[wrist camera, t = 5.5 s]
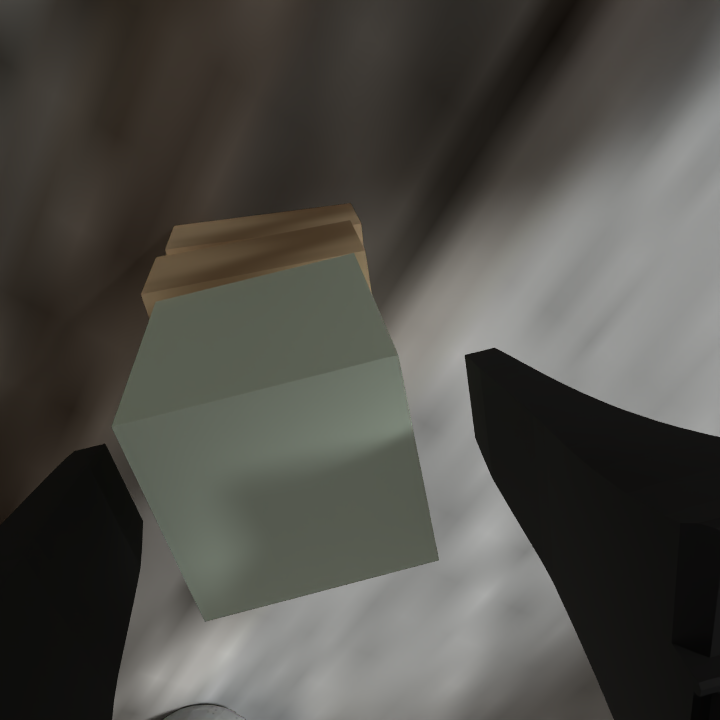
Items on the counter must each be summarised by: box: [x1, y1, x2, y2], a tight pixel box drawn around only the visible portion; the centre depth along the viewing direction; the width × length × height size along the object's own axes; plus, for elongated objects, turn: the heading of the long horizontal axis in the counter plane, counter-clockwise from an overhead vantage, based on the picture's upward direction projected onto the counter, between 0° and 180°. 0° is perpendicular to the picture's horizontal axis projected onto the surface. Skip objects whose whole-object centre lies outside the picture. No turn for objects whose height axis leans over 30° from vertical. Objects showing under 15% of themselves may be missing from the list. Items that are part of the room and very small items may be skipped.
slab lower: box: [165, 203, 363, 255], centre depth 19 cm, size 5×5×2 cm
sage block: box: [112, 253, 439, 622], centre depth 13 cm, size 4×4×5 cm
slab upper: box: [141, 220, 372, 319], centre depth 16 cm, size 5×5×2 cm
